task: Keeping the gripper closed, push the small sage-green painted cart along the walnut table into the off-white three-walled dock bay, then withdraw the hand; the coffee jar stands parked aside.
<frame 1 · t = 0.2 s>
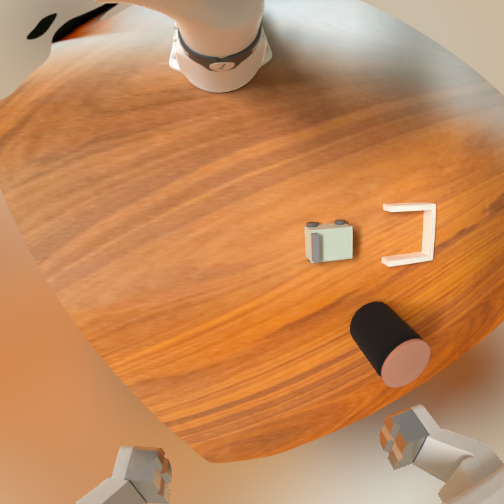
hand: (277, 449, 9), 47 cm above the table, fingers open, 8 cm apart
dock bay: (404, 231, 57), on the table
sage cart: (324, 239, 57), on the table
coffee jar: (368, 320, 63), on the table
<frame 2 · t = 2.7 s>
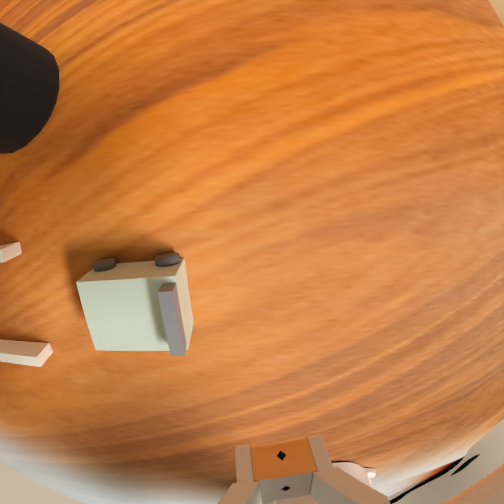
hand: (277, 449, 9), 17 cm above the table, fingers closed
dock bay: (2, 301, 24), on the table
sage cart: (144, 294, 25), on the table
coffee jar: (24, 100, 19), on the table
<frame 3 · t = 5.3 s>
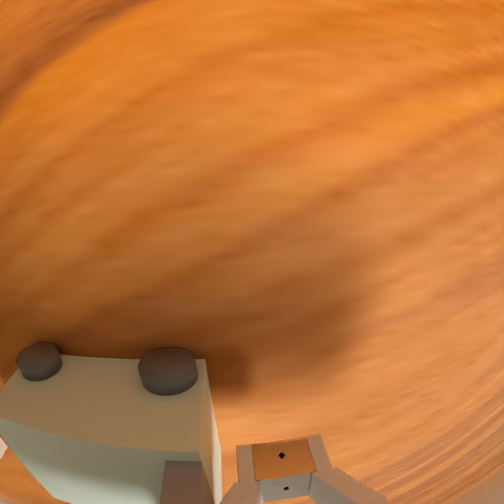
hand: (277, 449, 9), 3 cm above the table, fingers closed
sage cart: (126, 408, 11), on the table, touching gripper
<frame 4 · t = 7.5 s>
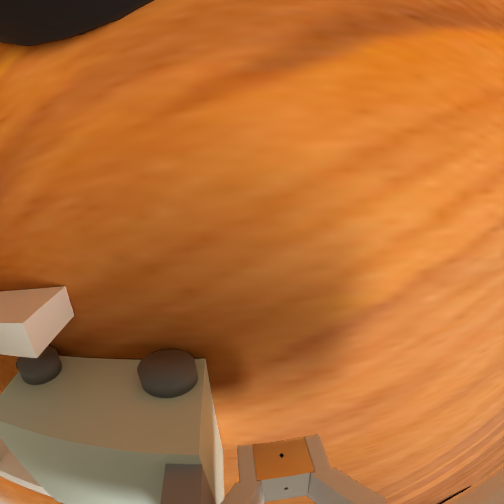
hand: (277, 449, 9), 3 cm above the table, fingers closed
dock bay: (29, 400, 11), on the table
sage cart: (127, 411, 11), on the table, touching gripper
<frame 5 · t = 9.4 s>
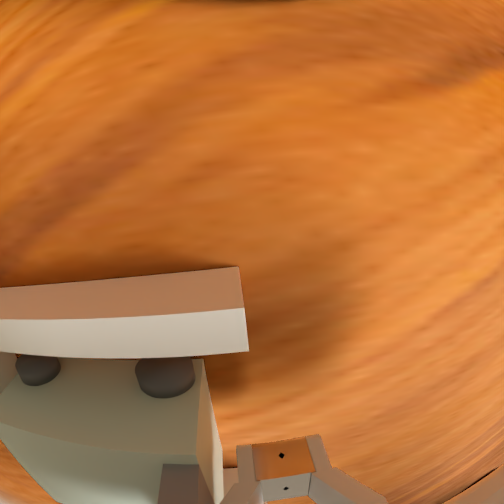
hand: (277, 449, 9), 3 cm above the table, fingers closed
dock bay: (130, 410, 11), on the table
sage cart: (126, 411, 11), on the table, touching gripper
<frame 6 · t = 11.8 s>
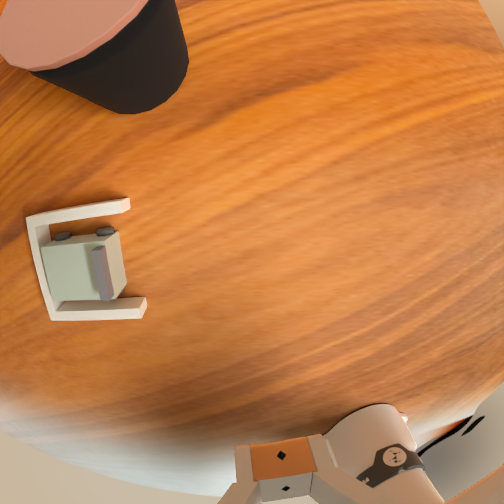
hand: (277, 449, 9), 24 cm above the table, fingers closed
dock bay: (93, 258, 30), on the table
sage cart: (91, 259, 30), on the table
coffee jar: (140, 70, 25), on the table
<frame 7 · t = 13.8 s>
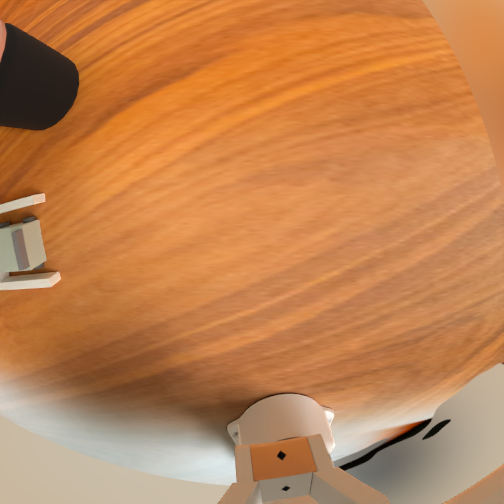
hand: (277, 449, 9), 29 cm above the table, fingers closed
dock bay: (24, 241, 34), on the table
sage cart: (24, 242, 34), on the table
coffee jar: (51, 94, 29), on the table
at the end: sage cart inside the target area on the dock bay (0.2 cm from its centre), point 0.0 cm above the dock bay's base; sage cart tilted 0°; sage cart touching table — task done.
